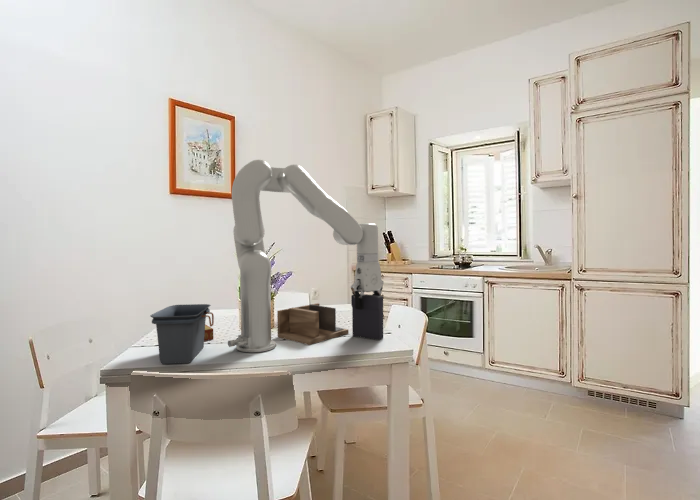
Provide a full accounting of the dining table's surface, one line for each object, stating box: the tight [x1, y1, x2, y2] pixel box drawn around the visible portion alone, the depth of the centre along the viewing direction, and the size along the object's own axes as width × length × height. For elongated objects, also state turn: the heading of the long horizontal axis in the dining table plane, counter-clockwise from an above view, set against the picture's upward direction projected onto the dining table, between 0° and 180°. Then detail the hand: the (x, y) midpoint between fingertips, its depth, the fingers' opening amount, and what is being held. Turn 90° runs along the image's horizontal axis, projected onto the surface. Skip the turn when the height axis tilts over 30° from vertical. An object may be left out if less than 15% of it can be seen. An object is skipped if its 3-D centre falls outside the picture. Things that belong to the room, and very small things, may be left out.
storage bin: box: [149, 303, 215, 365], centre depth 126 cm, size 21×16×14 cm
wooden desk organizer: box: [276, 302, 349, 346], centre depth 151 cm, size 20×16×10 cm
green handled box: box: [204, 324, 214, 342], centre depth 150 cm, size 8×16×4 cm, turn 35°
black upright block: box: [350, 293, 384, 341], centre depth 147 cm, size 11×4×15 cm, turn 58°
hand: (368, 307), depth 147 cm, fingers open, 9 cm apart
